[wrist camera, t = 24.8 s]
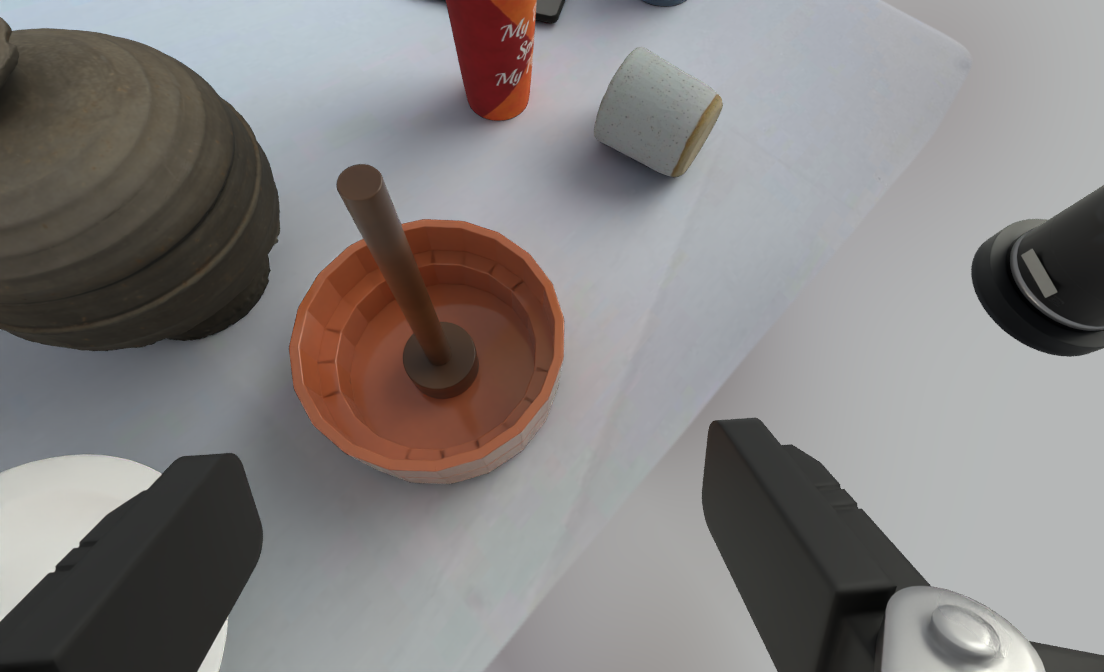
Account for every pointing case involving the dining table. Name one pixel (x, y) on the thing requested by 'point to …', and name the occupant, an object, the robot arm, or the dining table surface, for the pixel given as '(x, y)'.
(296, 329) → the mixing bowl
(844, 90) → the dining table surface
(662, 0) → the crock
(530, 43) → the paper cup
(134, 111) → the pot
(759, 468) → the robot arm
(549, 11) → the smartphone
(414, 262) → the brown wooden plunger
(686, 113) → the ceramic mug
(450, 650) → the dining table surface
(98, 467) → the candlestick
